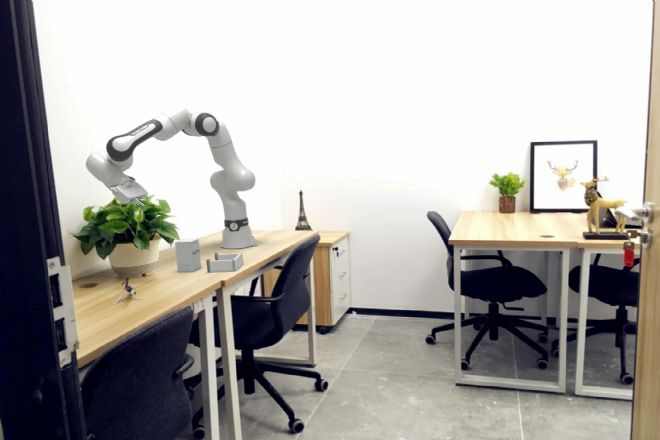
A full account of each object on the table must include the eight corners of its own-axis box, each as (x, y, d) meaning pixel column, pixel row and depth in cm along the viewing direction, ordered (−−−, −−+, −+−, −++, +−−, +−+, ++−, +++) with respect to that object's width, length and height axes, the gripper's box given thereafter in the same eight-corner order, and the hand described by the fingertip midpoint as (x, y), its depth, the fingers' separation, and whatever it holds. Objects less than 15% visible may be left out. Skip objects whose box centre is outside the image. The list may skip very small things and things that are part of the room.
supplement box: (193, 271, 203) (190, 241, 201) (177, 272, 204) (174, 241, 203) (202, 267, 210) (199, 238, 208) (186, 267, 212) (182, 238, 210)
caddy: (216, 264, 213) (215, 252, 213) (243, 263, 213) (242, 251, 212) (207, 272, 200) (206, 259, 199) (236, 270, 200) (235, 258, 199)
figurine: (146, 311, 177) (133, 313, 158) (122, 305, 176) (105, 306, 157) (155, 283, 179) (143, 281, 160) (131, 277, 178) (116, 274, 159)
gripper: (112, 180, 195) (140, 203, 195) (135, 177, 215) (159, 198, 216) (103, 192, 195) (130, 215, 196) (126, 188, 216) (150, 209, 217)
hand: (145, 206), depth 206 cm, fingers open, 3 cm apart
